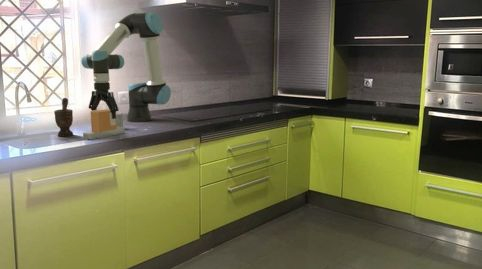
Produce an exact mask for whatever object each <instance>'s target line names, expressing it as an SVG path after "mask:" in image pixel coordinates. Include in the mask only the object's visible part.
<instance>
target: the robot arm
mask: <svg viewBox="0 0 482 269" xmlns="http://www.w3.org/2000/svg"><path fill="white" fill-rule="evenodd" d="M163 27H164V23H163V21H162V17H160V16H159V14H157V13H156V12H140V13H139V12H137V13H135V12H133V13H131V14H130V13H129V14H128V15H126V16H124V17H123V18H121V19H120V20H119V21H118V22H117V23H116V24H115V26H114V29H113V30H112V31H111V32H110V33H109V34H108V35H107V36H106V37H105V38H104V39H103V40H102V41H101V42H100V44H99V45H97V47H96V48H95V49H94V50H92V52H91V53H90V54H89V53H86V54H83V55H82V57H81V60H80V62H81V65H82V67H83V68H84V69H89V70H93V72H92V73H93V74H92V75H93V82H94V83H93V90H91V97H90V100H89V104H88V109H90V110H91V111H98V110H99V109H97V108H98V106H99V105H100V103H101V101H102V102H105V104H106V106H107V107H108V108H107V109H110V125H116V120H115V118H116V113H117V112H119V110H120V109H119V107H118V104H117V101H116V99H115V97H114V92H112V91H110V89H111V86H110V84H111V83H110V70H121V69H123V67H124V65H125V58H124V57H123V55H121V54H117V53H116V54H112V53H113V52H114V51H115V50H116V49H117V48H118V47H119V45H120V44H121V43H122V42H124V40H125V39H128V38H130V36H132V35H139V39H140V40H142V45H143V46H142V47H143V51H144V60H145V66H146V74H147V81H146V82H140V83H132V84H129V85H128V107H129V108H128V113H127V116H126V121H127V122H130V123H131V122H135V123H137V122H149V121H152V119H153V118H152V114H151V111H150V108H149V105H158V106H160V105H166V104H167V103H168V102H169V101H170V98H171V94H172V91H171V88H170V86H169V85H167V82H166V80H165V79H164V78H163V73H162V65H161V64H162V62H161V55H160V49H159V48H160V47H159V40H158V39H159V37H161V36H160V35H161V33H162V32H163V29H164V28H163ZM109 91H110V92H109Z"/></svg>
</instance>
